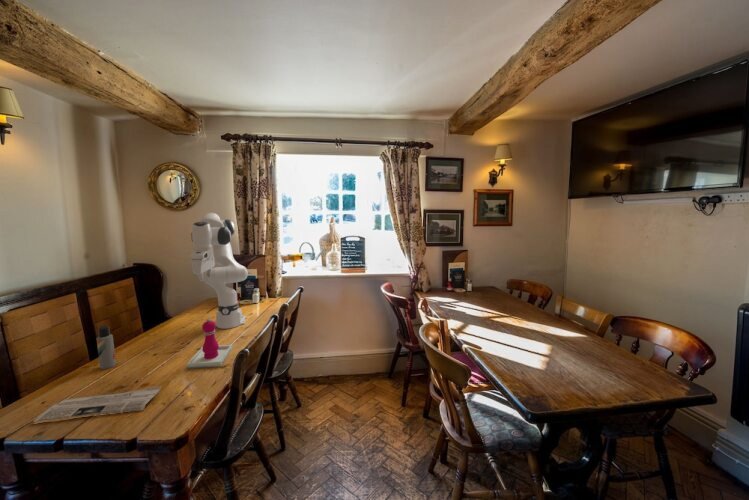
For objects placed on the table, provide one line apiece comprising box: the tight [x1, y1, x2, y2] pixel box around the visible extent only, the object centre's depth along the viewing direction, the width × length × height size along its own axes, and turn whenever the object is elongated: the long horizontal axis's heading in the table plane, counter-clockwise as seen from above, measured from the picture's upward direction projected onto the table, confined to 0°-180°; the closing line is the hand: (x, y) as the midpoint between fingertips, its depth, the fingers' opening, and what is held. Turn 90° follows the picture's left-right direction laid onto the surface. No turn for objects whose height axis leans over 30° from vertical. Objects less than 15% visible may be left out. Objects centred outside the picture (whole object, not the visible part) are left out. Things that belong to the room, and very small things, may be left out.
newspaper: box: [32, 385, 162, 423], centre depth 112 cm, size 35×12×4 cm, turn 103°
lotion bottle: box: [96, 325, 117, 370], centre depth 139 cm, size 6×6×20 cm
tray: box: [186, 344, 233, 370], centre depth 148 cm, size 18×15×2 cm
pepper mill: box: [201, 317, 220, 359], centre depth 147 cm, size 7×7×20 cm
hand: (205, 278), depth 155 cm, fingers open, 8 cm apart
